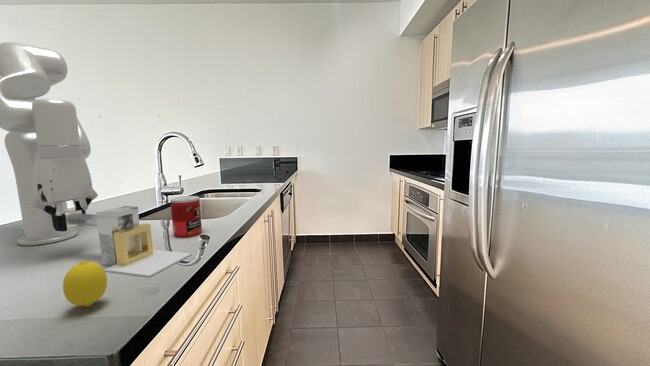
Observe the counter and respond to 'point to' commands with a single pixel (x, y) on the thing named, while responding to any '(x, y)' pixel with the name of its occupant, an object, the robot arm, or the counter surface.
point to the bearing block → (109, 226)
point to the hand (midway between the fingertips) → (71, 227)
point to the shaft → (87, 219)
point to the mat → (150, 263)
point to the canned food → (186, 216)
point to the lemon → (84, 283)
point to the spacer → (121, 244)
